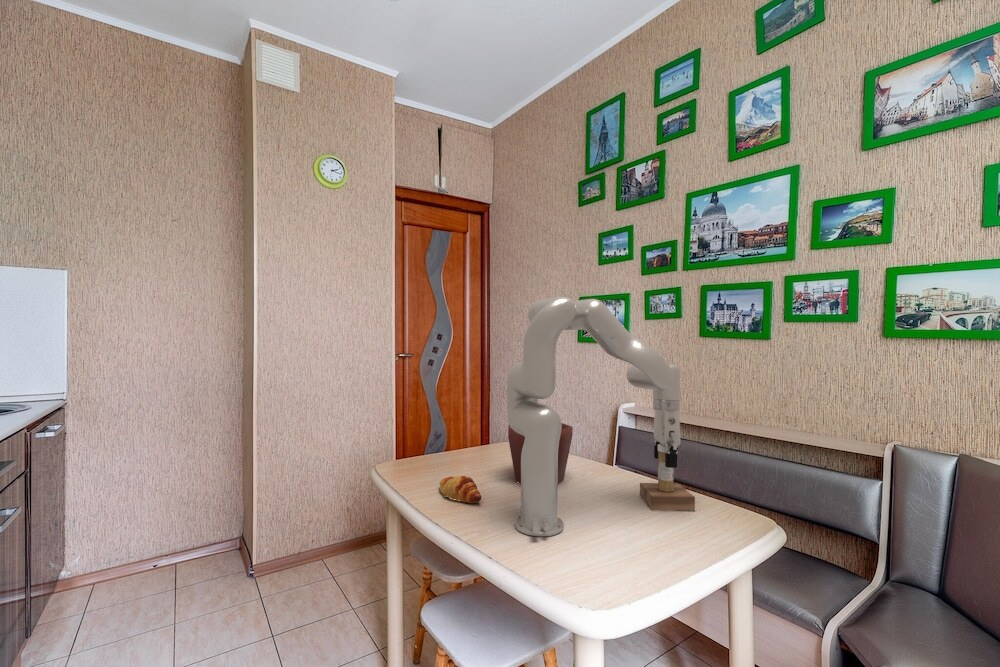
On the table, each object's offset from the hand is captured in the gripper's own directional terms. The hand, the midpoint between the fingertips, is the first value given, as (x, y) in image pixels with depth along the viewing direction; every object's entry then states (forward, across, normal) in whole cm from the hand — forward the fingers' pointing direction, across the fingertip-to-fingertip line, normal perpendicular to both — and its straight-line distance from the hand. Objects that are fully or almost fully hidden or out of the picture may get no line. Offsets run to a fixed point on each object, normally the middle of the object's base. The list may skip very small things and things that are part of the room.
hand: (665, 462), depth 132 cm
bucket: (+13, +21, +35) cm, 43 cm away
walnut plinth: (+12, 0, -1) cm, 12 cm away
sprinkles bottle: (+8, 0, 0) cm, 8 cm away
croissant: (+14, +4, +61) cm, 63 cm away
